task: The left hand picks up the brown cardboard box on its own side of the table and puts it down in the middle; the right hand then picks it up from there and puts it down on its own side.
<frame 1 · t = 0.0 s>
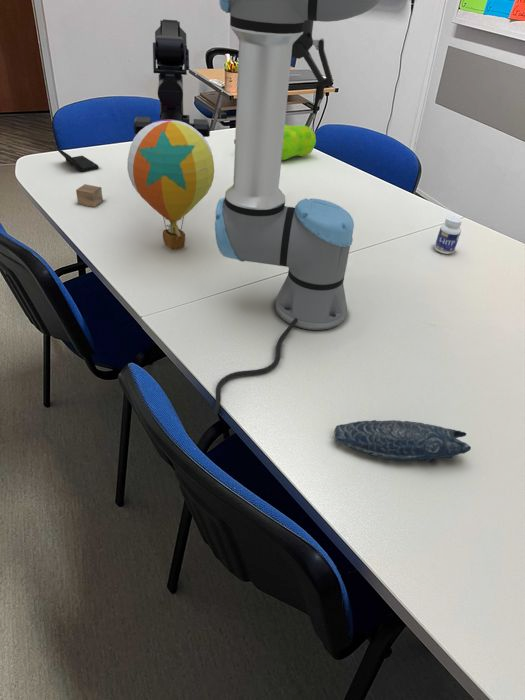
left hand: (173, 160, 137), 15 cm above the table, tool pointing down, fingers open, 9 cm apart
right hand: (288, 109, 135), 28 cm above the table, tool pointing down, fingers open, 13 cm apart
pill bottle: (443, 250, 140), on the table
black flat handled piece: (77, 166, 168), on the table
brown cardboard box: (90, 202, 147), on the table
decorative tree: (274, 156, 190), on the table
toy: (174, 247, 130), on the table
fish model: (397, 448, 84), on the table
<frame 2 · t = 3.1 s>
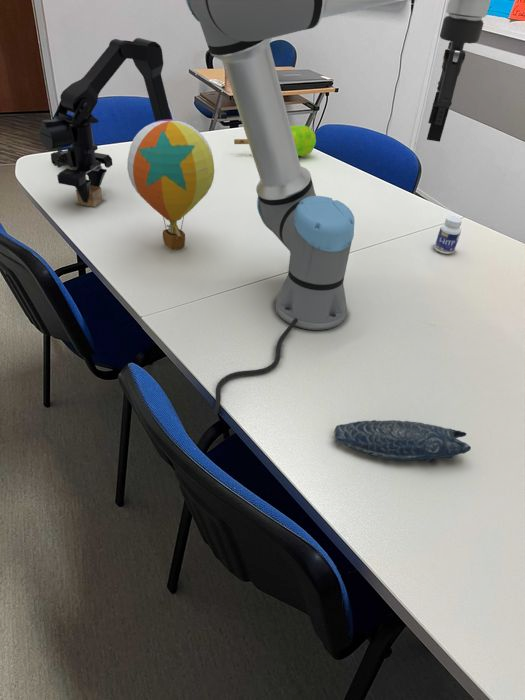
left hand: (90, 199, 147), 1 cm above the table, tool pointing down, fingers closed on brown cardboard box, 5 cm apart
right hand: (433, 131, 113), 32 cm above the table, tool pointing down, fingers open, 13 cm apart
brown cardboard box: (90, 202, 147), on the table, touching left hand
everything else where it was.
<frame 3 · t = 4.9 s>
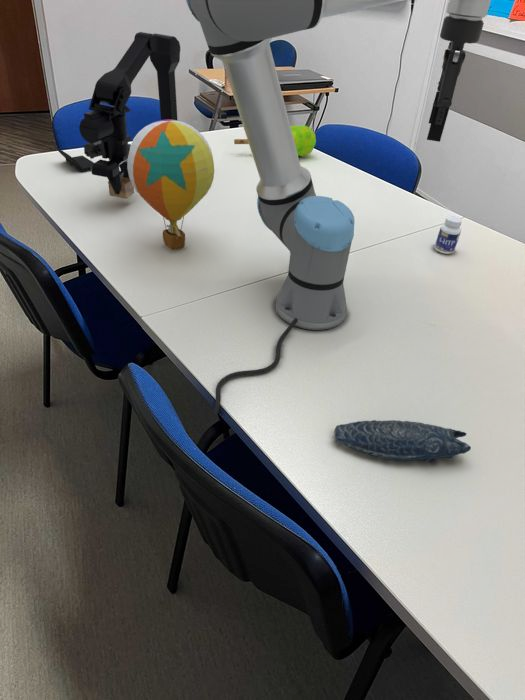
left hand: (121, 190, 145), 4 cm above the table, tool pointing down, fingers closed on brown cardboard box, 5 cm apart
right hand: (433, 131, 113), 32 cm above the table, tool pointing down, fingers open, 13 cm apart
brown cardboard box: (122, 194, 146), point 3 cm above the table, touching left hand
everything else where it was.
when the left hand's fingers open (2 cm above the table, at t = 7.2 s): brown cardboard box drops 1 cm, on the table.
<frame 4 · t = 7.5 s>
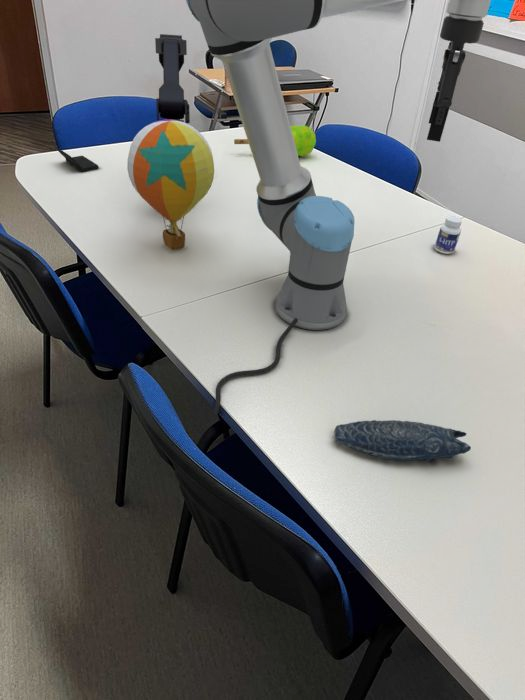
left hand: (174, 202, 147), 2 cm above the table, tool pointing down, fingers open, 7 cm apart
right hand: (433, 131, 113), 32 cm above the table, tool pointing down, fingers open, 13 cm apart
brown cardboard box: (175, 209, 148), on the table
everything else where it was.
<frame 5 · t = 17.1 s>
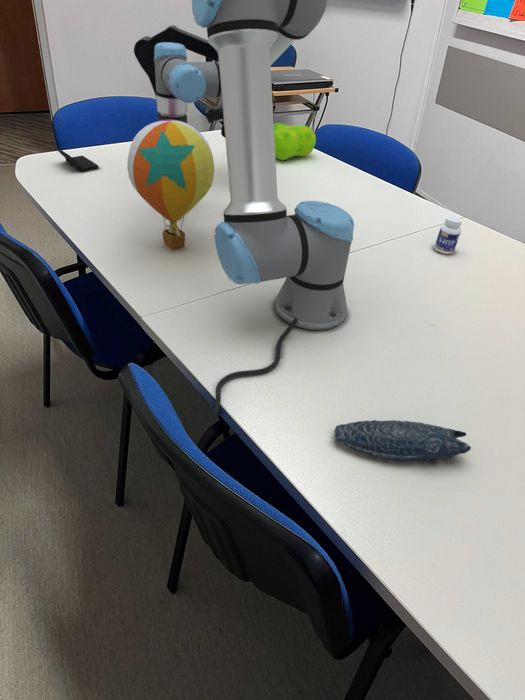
left hand: (232, 151, 163), 9 cm above the table, tool pointing down, fingers open, 9 cm apart
right hand: (175, 200, 146), 3 cm above the table, tool pointing down, fingers closed on brown cardboard box, 5 cm apart
brown cardboard box: (175, 202, 147), point 2 cm above the table, touching right hand
everything else where it was.
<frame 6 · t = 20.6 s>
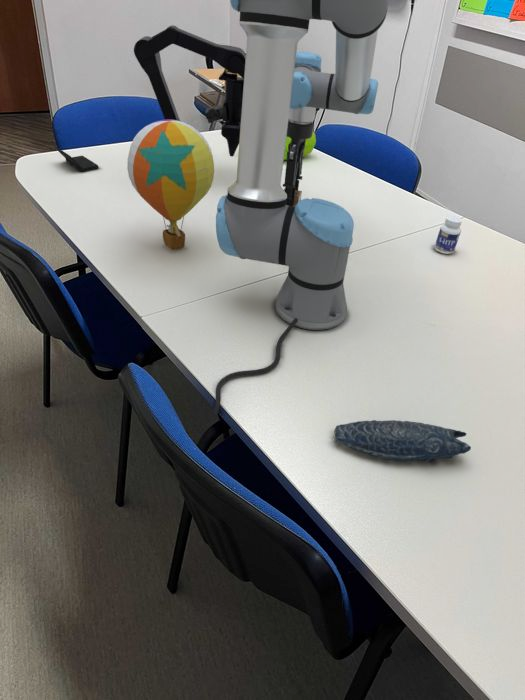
left hand: (232, 151, 163), 9 cm above the table, tool pointing down, fingers open, 9 cm apart
right hand: (290, 205, 150), 3 cm above the table, tool pointing down, fingers closed on brown cardboard box, 5 cm apart
brown cardboard box: (290, 206, 150), point 2 cm above the table, touching right hand
everything else where it was.
when the right hand's fingers open (0 cm above the table, at t = 24.5 s): brown cardboard box stays where it is, on the table.
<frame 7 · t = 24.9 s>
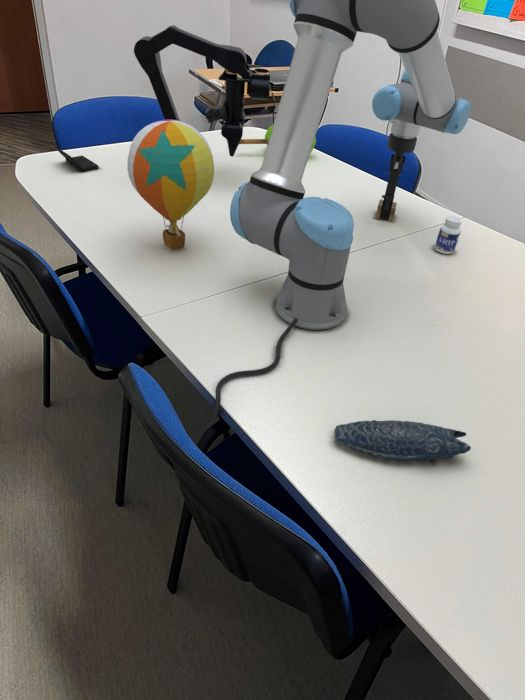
left hand: (232, 151, 163), 9 cm above the table, tool pointing down, fingers open, 9 cm apart
right hand: (385, 212, 154), 2 cm above the table, tool pointing down, fingers open, 10 cm apart
brown cardboard box: (384, 217, 155), on the table
everything else where it was.
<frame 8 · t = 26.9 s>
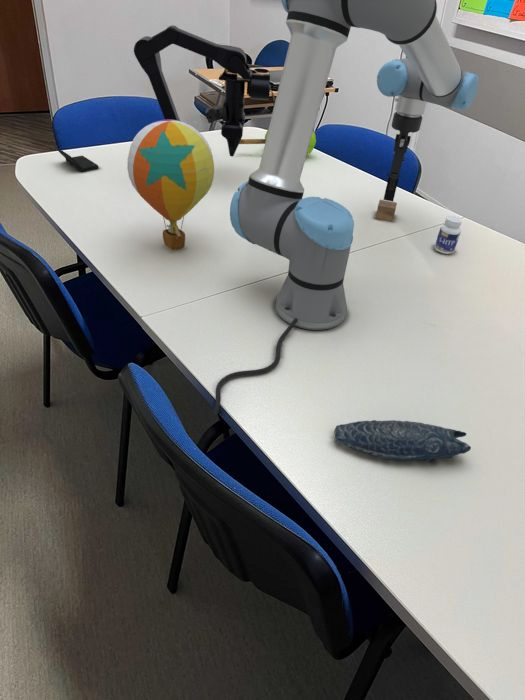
left hand: (232, 151, 163), 9 cm above the table, tool pointing down, fingers open, 9 cm apart
right hand: (390, 191, 150), 8 cm above the table, tool pointing down, fingers open, 13 cm apart
nothing on the table moved.
at the end: brown cardboard box inside the target area (0.0 cm from its centre), on the table; brown cardboard box tilted 0°; the two hands never held the brown cardboard box at the same time; the left hand is holding nothing; the right hand is holding nothing; brown cardboard box at rest at the end (0.0 cm/s) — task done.
